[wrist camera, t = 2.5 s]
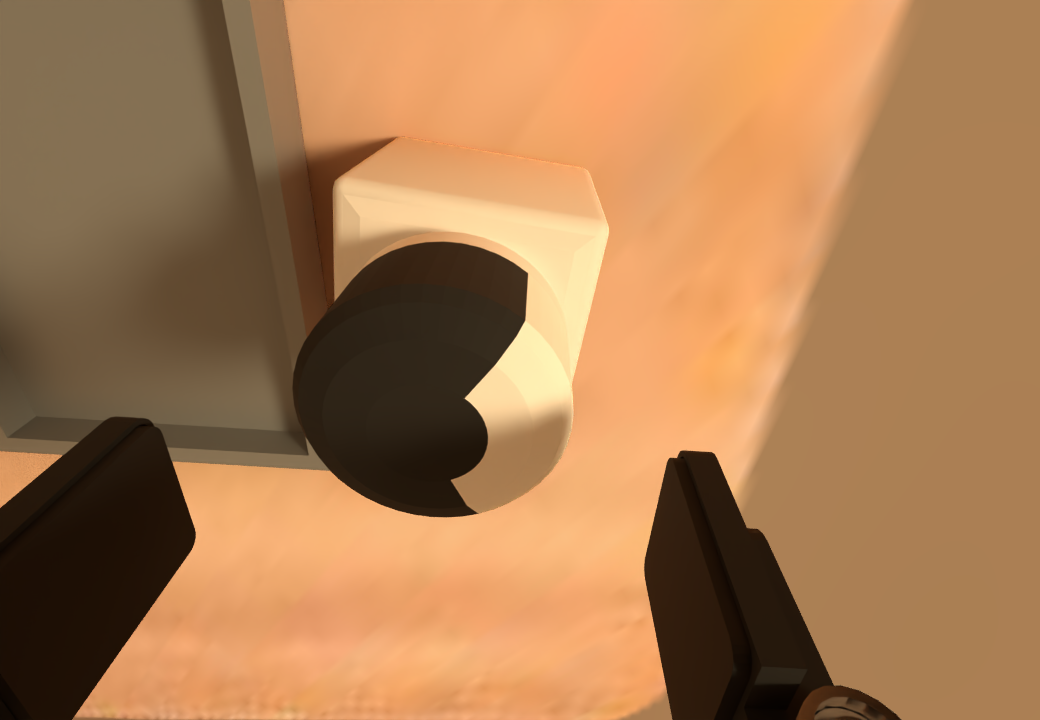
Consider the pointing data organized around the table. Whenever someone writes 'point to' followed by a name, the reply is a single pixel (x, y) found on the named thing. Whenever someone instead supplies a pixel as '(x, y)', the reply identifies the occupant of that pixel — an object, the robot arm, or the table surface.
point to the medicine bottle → (451, 325)
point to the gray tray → (154, 227)
